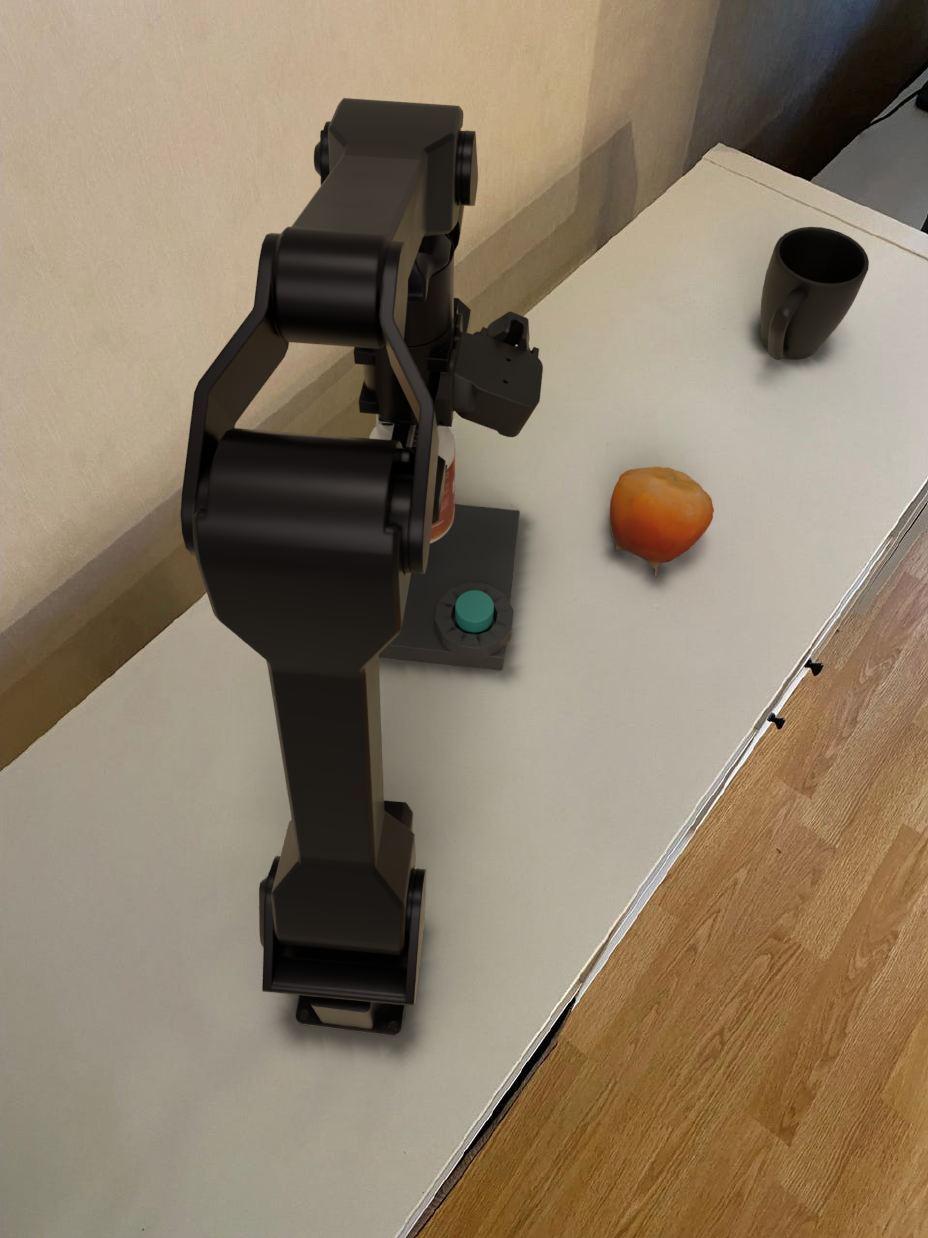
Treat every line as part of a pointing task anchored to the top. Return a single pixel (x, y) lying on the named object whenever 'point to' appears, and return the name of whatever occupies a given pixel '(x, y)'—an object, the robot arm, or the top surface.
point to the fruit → (658, 513)
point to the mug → (809, 289)
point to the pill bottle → (448, 455)
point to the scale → (461, 592)
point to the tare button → (474, 611)
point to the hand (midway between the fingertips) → (413, 485)
